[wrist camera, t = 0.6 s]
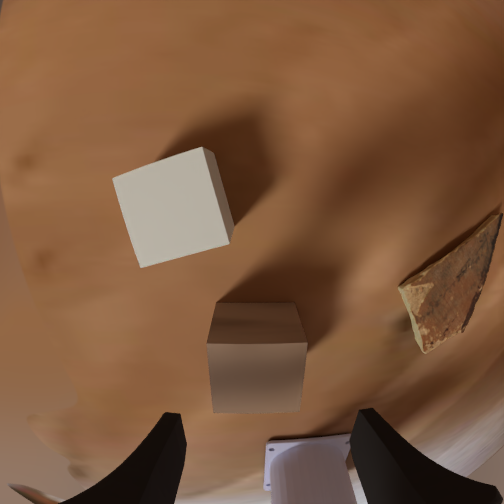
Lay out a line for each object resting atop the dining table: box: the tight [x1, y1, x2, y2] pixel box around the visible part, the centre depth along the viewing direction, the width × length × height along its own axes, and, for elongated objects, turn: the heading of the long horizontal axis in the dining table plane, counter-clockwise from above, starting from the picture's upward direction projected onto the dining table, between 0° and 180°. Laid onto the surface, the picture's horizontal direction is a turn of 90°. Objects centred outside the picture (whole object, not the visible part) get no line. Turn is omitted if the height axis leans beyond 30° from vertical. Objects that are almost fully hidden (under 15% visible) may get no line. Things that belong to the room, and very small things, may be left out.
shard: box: [398, 213, 503, 353], centre depth 19 cm, size 11×8×2 cm
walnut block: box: [207, 302, 308, 414], centre depth 17 cm, size 5×5×5 cm
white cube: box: [112, 147, 235, 268], centre depth 15 cm, size 4×4×4 cm
